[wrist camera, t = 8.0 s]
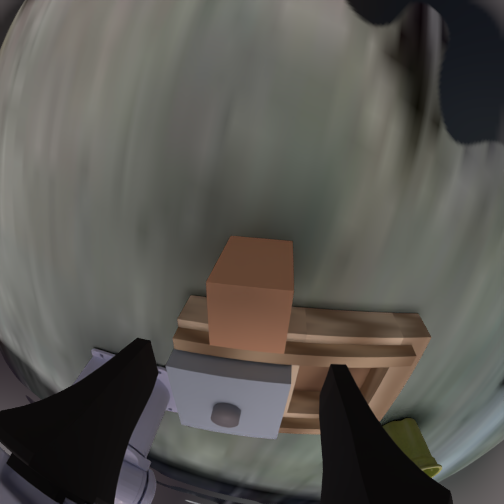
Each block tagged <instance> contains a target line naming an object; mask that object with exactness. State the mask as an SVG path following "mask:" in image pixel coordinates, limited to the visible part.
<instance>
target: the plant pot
mask: <svg viewBox="0 0 504 504" xmlns="http://www.w3.org/2000/svg"><path fill="white" fill-rule="evenodd" d="M383 428H384V429H385V431H386V432H387V433H388V435H389V436H390V437H391V438H392V440H393V441H394V442H395V443H396V444H397V446H398V447H399V448H400V449H401V450H402V451H403V452H404V453H405V454H406V456H408V457H409V458H410V459H411V460H412V461H413V462H414V463H415V464H416V465H417V466H418V467H419V468H420V469H421V470H422V471H423V472H425V473H426V474H427V475H428V476H429V477H431V478H432V477H434V476H435V475H436V474H438V473H439V472H440V471H441V470H442V466H441V465H440V464H437V462H436V460H435V458H433V457H432V456H431V453H430V451H429V449H428V447H427V445H426V442H425V440H424V438H423V436H422V434H421V431H420V429H419V427H418V425H417V423H416V421H415V420H414V419H411V418H405V419H404V420H402V421H392V422H389V423H387V424H385V425H383Z"/></svg>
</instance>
